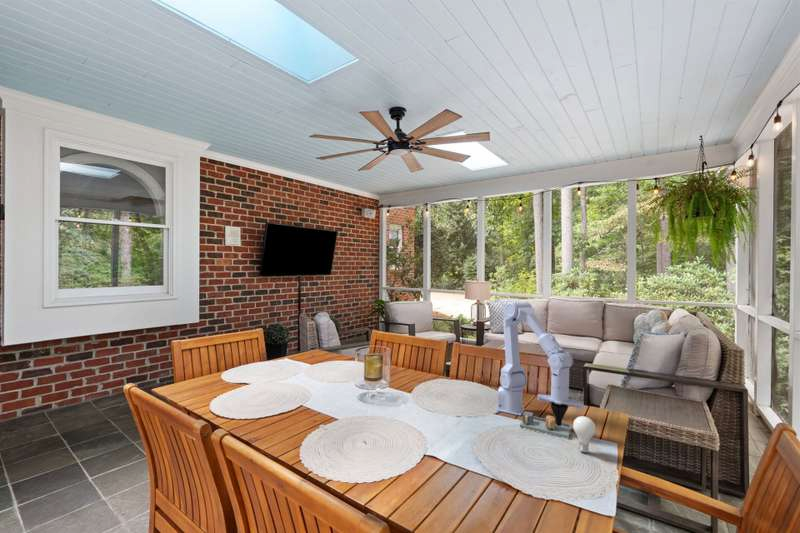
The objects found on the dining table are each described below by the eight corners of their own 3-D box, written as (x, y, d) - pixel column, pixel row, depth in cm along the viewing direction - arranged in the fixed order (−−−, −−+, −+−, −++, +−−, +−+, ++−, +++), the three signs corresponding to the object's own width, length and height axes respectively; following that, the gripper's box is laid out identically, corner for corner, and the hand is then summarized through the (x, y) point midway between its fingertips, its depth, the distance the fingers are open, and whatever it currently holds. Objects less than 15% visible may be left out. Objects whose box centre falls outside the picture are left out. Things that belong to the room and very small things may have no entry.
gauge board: (519, 427, 131) (520, 416, 131) (525, 418, 139) (525, 407, 139) (568, 439, 123) (568, 426, 123) (571, 428, 131) (571, 416, 131)
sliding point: (544, 428, 127) (545, 419, 127) (547, 423, 131) (547, 415, 131) (554, 430, 126) (554, 421, 126) (555, 425, 130) (556, 417, 130)
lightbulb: (593, 449, 116) (593, 414, 116) (596, 458, 110) (597, 422, 110) (571, 445, 118) (572, 411, 118) (573, 454, 112) (574, 419, 112)
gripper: (536, 385, 128) (535, 423, 128) (582, 393, 121) (581, 434, 121) (539, 380, 134) (538, 417, 134) (583, 387, 127) (582, 426, 127)
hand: (559, 424), depth 128 cm, fingers closed
